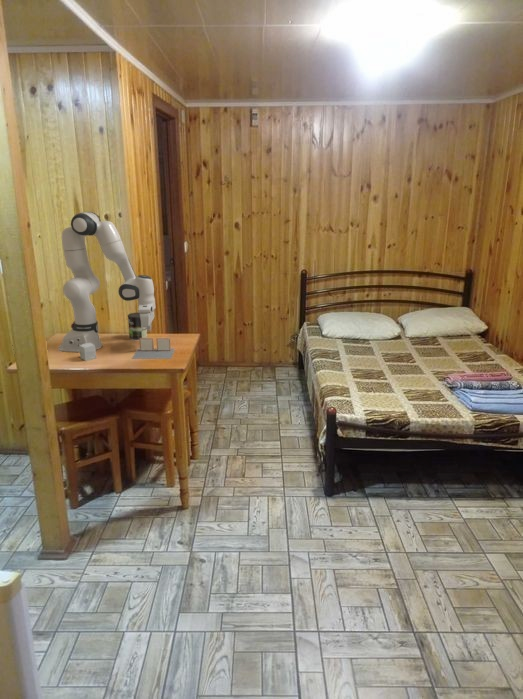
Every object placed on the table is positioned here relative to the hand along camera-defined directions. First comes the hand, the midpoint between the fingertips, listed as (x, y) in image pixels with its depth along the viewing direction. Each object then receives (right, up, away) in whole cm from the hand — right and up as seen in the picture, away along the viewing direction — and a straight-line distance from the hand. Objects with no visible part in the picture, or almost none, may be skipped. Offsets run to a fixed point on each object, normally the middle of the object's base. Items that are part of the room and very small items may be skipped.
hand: (149, 330), depth 266 cm
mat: (+4, -13, -7) cm, 15 cm away
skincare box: (-28, -15, -14) cm, 35 cm away
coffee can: (-11, -4, +19) cm, 22 cm away
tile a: (-1, -11, -3) cm, 11 cm away
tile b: (+8, -11, -2) cm, 14 cm away
